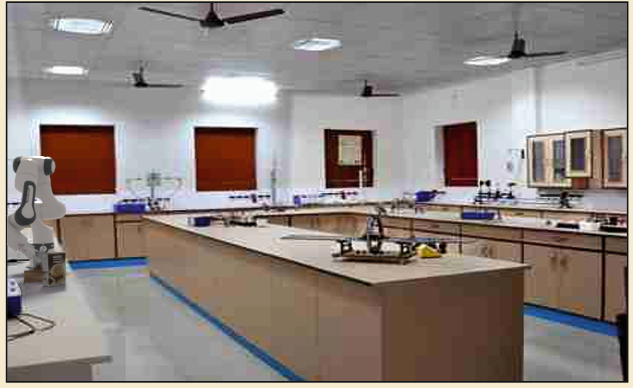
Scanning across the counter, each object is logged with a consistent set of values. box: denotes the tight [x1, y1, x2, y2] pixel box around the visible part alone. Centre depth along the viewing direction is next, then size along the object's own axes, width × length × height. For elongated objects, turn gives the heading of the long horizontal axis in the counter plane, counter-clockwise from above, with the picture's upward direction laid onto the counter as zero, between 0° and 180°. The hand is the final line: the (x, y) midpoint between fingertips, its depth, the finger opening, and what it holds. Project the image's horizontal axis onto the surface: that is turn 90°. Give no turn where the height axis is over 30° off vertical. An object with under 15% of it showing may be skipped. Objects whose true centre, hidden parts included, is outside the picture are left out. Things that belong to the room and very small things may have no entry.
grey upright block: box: [32, 251, 45, 270], centre depth 315 cm, size 6×6×11 cm
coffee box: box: [42, 251, 67, 288], centre depth 301 cm, size 9×6×16 cm
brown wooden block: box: [23, 269, 43, 284], centre depth 315 cm, size 11×14×6 cm
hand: (40, 260), depth 316 cm, fingers closed on grey upright block, 5 cm apart
